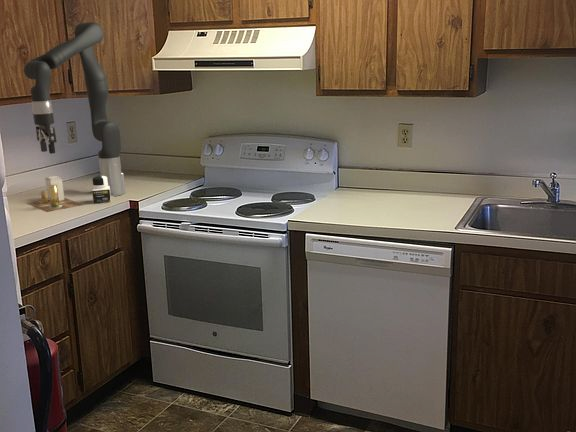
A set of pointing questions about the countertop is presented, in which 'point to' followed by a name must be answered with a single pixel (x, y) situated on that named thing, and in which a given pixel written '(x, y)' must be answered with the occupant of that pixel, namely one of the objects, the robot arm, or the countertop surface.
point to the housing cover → (55, 181)
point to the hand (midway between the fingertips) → (48, 152)
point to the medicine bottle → (101, 190)
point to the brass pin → (54, 196)
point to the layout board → (46, 203)
